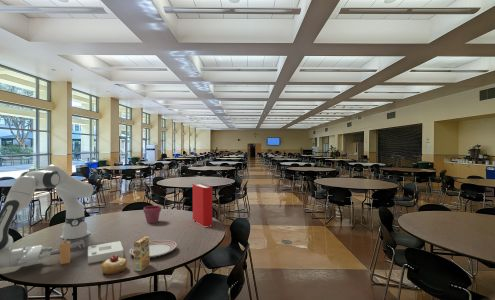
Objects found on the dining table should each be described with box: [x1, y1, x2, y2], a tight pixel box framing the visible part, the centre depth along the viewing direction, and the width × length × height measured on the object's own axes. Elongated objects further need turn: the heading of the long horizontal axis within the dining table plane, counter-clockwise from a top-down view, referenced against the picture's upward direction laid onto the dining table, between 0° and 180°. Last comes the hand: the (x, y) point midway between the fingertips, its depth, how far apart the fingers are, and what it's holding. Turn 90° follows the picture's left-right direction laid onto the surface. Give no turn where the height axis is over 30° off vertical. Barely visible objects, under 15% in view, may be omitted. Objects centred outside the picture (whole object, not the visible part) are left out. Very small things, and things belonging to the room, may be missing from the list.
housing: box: [87, 240, 124, 264], centre depth 163 cm, size 18×18×5 cm
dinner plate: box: [128, 239, 178, 259], centre depth 168 cm, size 27×27×3 cm
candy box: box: [133, 236, 151, 272], centre depth 145 cm, size 9×4×15 cm, turn 171°
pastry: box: [100, 255, 128, 275], centre depth 142 cm, size 12×12×9 cm
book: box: [192, 183, 213, 226], centre depth 231 cm, size 27×8×32 cm, turn 30°
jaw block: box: [59, 239, 71, 265], centre depth 153 cm, size 4×4×13 cm
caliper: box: [47, 238, 86, 255], centre depth 169 cm, size 20×1×6 cm, turn 124°
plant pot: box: [143, 205, 162, 224], centre depth 236 cm, size 14×14×13 cm
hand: (51, 251), depth 150 cm, fingers open, 8 cm apart
